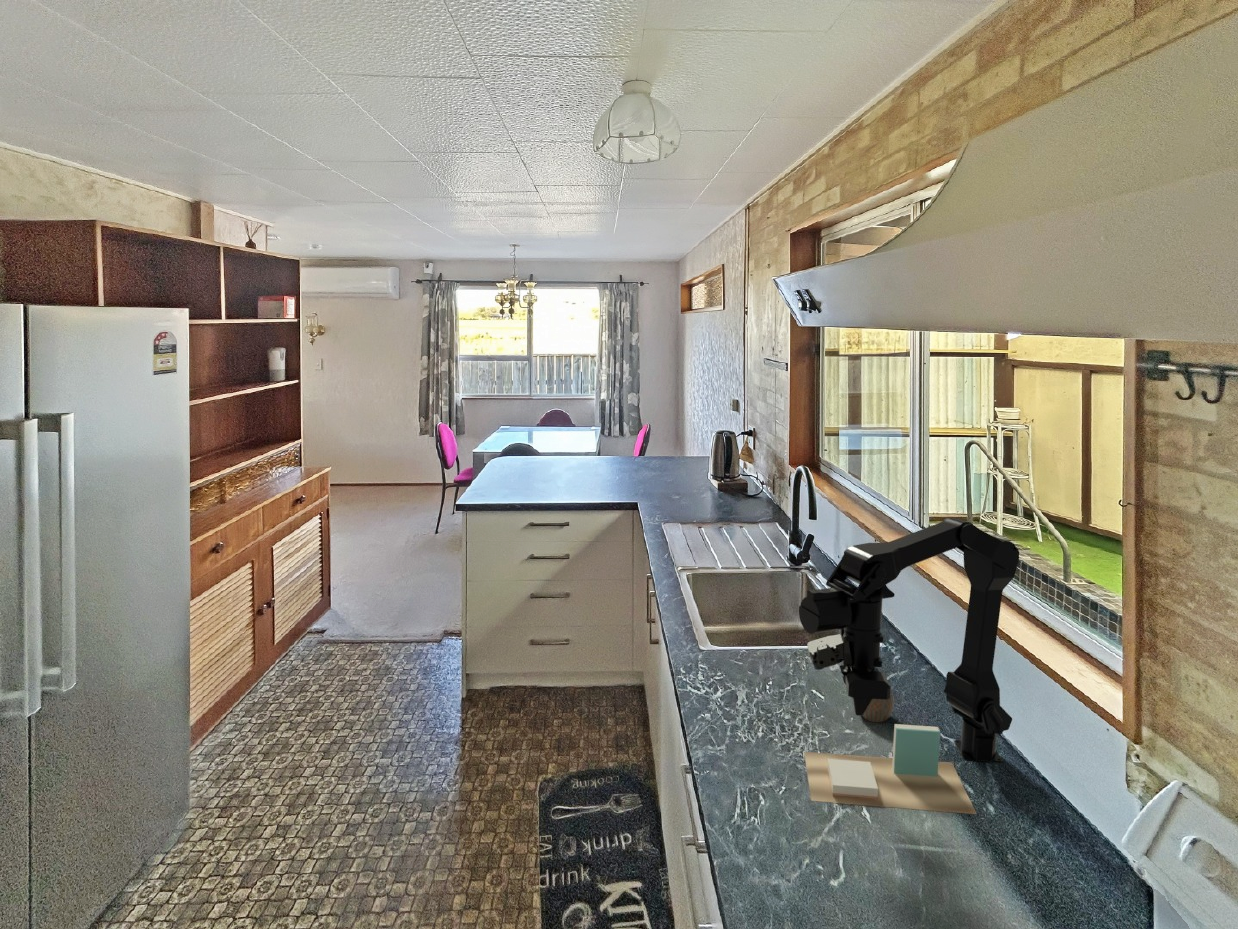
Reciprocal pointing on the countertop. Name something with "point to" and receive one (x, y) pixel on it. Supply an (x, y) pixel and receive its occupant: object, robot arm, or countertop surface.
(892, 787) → the cork mat
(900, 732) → the teal tile
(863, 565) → the robot arm
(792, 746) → the countertop surface
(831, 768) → the terracotta tile
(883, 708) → the vase
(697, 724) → the countertop surface
